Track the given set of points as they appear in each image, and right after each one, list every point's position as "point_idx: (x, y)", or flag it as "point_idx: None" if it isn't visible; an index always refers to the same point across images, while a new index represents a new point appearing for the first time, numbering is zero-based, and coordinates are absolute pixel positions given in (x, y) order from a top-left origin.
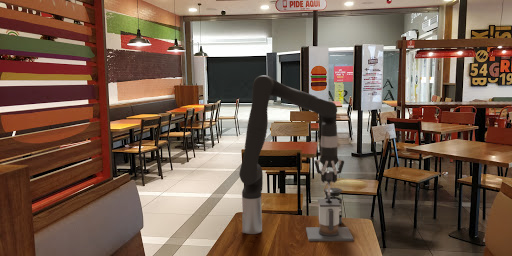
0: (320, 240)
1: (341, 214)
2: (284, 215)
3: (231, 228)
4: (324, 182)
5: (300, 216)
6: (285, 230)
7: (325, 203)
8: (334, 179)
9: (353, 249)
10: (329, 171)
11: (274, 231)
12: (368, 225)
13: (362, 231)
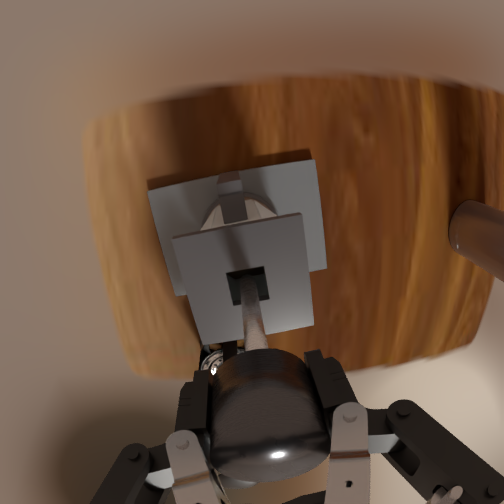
0: (270, 165)
1: (200, 360)
2: (381, 360)
3: None
4: (304, 352)
5: None
6: (389, 245)
7: (268, 253)
8: (202, 388)
9: (149, 116)
10: (264, 470)
11: (418, 231)
12: (118, 332)
13: (127, 282)
